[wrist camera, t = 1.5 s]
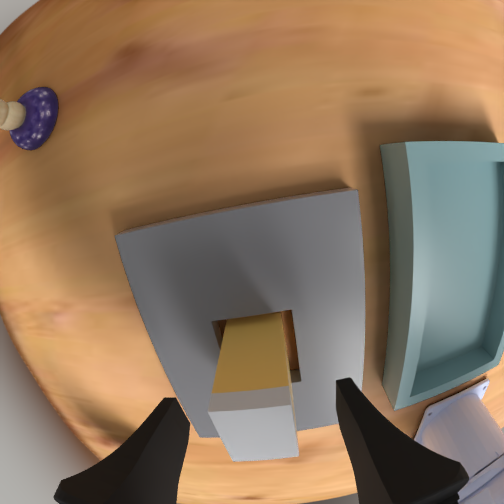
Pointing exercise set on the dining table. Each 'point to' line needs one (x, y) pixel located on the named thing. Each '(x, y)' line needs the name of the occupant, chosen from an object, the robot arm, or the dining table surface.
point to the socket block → (255, 293)
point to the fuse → (254, 390)
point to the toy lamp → (30, 117)
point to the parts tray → (443, 265)
